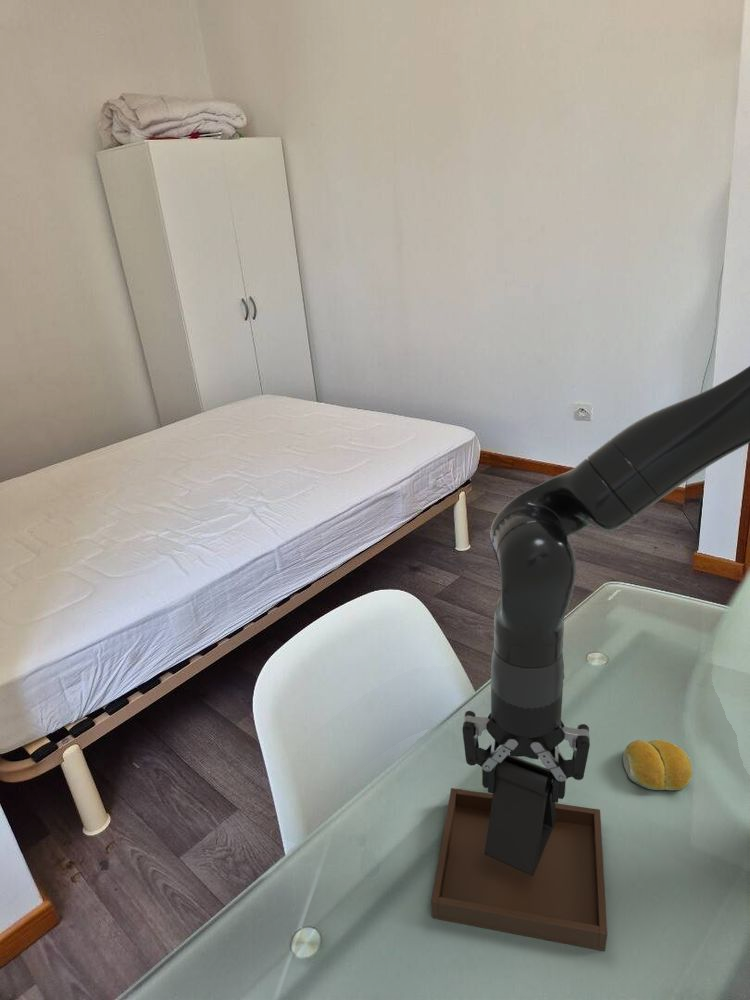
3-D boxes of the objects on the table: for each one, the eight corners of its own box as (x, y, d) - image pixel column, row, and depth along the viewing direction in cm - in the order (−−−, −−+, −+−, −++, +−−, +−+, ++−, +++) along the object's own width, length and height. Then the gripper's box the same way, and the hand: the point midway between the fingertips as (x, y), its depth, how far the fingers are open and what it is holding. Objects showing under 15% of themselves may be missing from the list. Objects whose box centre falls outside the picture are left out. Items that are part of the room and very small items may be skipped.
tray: (598, 825, 91) (600, 809, 90) (605, 951, 77) (607, 934, 75) (451, 803, 96) (451, 787, 95) (432, 918, 82) (431, 901, 80)
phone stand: (532, 877, 79) (535, 804, 74) (483, 855, 82) (483, 783, 77) (557, 819, 86) (561, 747, 81) (511, 800, 89) (513, 730, 84)
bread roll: (699, 793, 95) (703, 772, 93) (632, 793, 95) (635, 773, 94) (678, 748, 102) (682, 727, 100) (617, 748, 103) (619, 728, 101)
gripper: (454, 697, 72) (457, 809, 79) (598, 713, 68) (588, 829, 75) (463, 652, 78) (465, 759, 85) (595, 665, 75) (586, 775, 82)
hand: (523, 791), depth 80 cm, fingers closed on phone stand, 6 cm apart
